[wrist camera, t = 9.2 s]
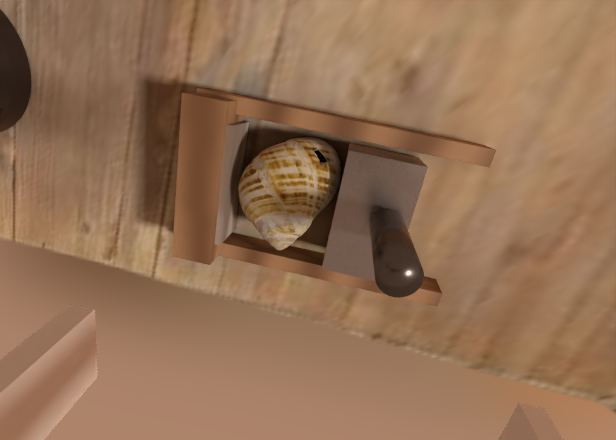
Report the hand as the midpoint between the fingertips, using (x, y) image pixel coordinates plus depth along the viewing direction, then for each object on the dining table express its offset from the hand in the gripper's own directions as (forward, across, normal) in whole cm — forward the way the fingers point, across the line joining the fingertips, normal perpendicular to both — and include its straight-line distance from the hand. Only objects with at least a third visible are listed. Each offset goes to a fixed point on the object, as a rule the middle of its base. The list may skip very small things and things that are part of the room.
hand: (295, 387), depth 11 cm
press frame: (+28, 0, -2) cm, 28 cm away
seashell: (+29, -4, -2) cm, 29 cm away
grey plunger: (+28, +5, -2) cm, 28 cm away
